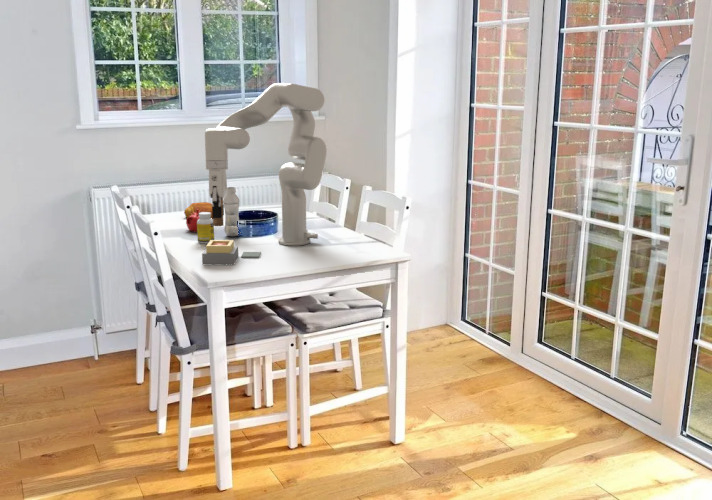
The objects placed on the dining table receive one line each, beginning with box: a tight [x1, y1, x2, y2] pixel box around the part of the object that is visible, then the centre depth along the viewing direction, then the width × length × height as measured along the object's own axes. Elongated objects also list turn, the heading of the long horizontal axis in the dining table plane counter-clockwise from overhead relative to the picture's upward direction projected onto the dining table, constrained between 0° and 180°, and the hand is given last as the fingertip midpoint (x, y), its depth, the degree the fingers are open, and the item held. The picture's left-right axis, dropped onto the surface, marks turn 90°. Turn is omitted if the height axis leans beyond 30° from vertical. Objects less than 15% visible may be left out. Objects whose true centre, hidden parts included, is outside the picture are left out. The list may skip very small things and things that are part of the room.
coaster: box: [240, 251, 262, 259], centre depth 261 cm, size 6×6×1 cm
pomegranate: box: [185, 209, 200, 233], centre depth 299 cm, size 10×10×9 cm
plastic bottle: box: [223, 186, 240, 237], centre depth 288 cm, size 6×7×20 cm
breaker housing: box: [201, 239, 239, 266], centre depth 253 cm, size 11×11×6 cm
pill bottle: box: [196, 212, 215, 244], centre depth 279 cm, size 6×6×12 cm
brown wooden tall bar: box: [212, 196, 224, 227], centre depth 249 cm, size 4×4×15 cm
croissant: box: [183, 201, 213, 219], centre depth 324 cm, size 14×16×8 cm
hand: (218, 216), depth 250 cm, fingers closed on brown wooden tall bar, 3 cm apart
